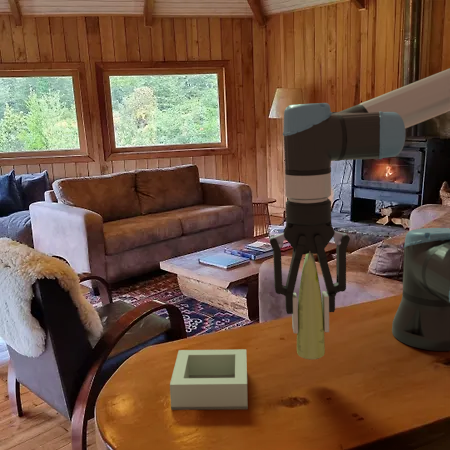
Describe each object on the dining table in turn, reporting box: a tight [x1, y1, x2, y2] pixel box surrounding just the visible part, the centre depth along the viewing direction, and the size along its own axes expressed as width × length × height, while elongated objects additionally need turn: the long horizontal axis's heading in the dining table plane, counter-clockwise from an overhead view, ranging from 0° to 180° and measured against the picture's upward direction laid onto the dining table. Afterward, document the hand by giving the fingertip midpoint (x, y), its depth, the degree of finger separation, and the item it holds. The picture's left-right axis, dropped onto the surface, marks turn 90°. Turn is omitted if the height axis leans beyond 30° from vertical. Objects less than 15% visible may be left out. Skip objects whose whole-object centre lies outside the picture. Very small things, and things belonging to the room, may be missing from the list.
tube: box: [296, 251, 326, 360], centre depth 91 cm, size 6×5×20 cm
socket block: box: [169, 348, 248, 411], centre depth 91 cm, size 12×12×4 cm
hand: (310, 329), depth 92 cm, fingers closed on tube, 5 cm apart
